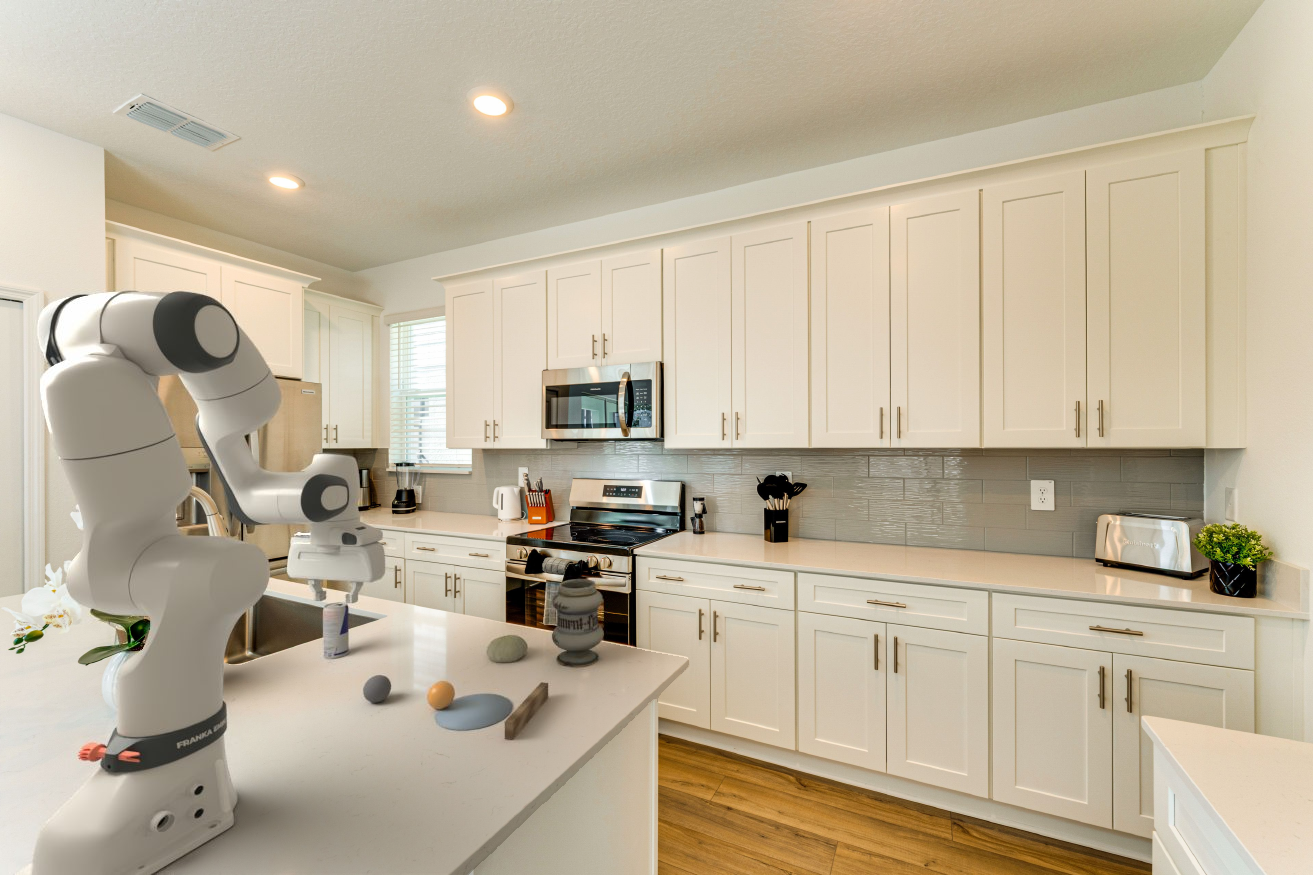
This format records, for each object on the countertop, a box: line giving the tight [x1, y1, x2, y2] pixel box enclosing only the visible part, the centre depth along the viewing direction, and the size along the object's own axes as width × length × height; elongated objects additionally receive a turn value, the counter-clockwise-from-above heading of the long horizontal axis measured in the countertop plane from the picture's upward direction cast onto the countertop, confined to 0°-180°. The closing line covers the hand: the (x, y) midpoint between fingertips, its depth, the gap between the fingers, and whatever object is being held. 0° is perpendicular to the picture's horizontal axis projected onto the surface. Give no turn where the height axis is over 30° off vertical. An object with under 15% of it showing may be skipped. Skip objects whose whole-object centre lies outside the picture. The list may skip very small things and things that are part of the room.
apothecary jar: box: [551, 578, 605, 668], centre depth 133 cm, size 12×12×18 cm
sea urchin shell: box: [486, 634, 528, 664], centre depth 134 cm, size 9×8×8 cm
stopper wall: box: [504, 681, 549, 741], centre depth 105 cm, size 16×2×3 cm, turn 169°
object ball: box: [426, 680, 456, 710], centre depth 109 cm, size 5×5×5 cm
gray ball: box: [362, 674, 392, 704], centre depth 112 cm, size 5×5×5 cm
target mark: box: [434, 693, 513, 731], centre depth 108 cm, size 14×14×1 cm
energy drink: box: [322, 601, 350, 659], centre depth 136 cm, size 5×5×12 cm
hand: (335, 601), depth 114 cm, fingers open, 6 cm apart
